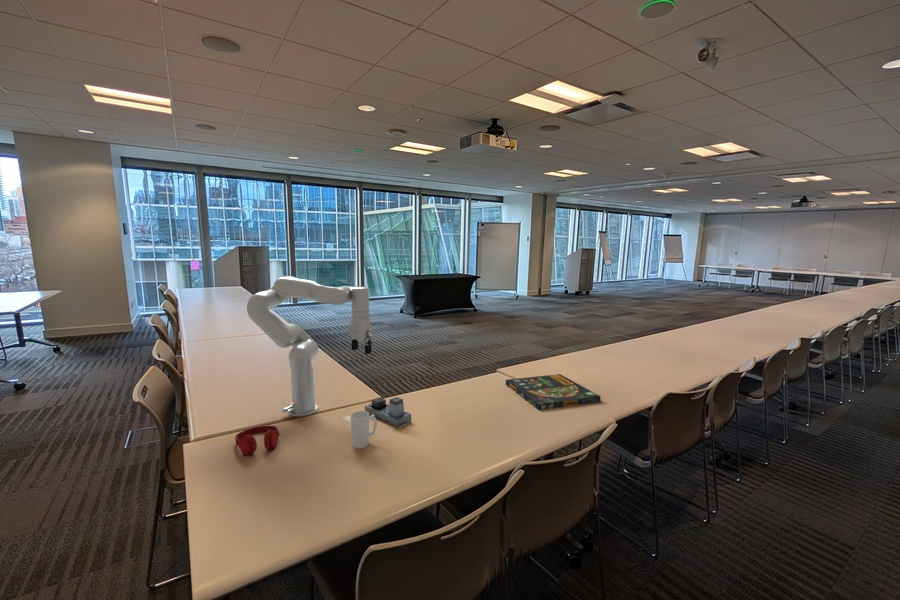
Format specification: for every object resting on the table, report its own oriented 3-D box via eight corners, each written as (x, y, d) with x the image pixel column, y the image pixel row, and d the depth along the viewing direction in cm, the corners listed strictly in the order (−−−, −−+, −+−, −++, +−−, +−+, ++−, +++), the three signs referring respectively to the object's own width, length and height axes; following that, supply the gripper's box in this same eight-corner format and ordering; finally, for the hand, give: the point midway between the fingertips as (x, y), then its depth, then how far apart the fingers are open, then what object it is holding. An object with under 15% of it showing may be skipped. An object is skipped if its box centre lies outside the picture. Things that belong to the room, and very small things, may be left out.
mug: (353, 450, 140) (353, 420, 139) (349, 442, 146) (348, 413, 145) (379, 444, 145) (379, 414, 144) (374, 436, 151) (374, 408, 150)
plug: (396, 422, 162) (395, 402, 160) (389, 419, 165) (388, 399, 163) (403, 418, 165) (403, 399, 164) (396, 415, 168) (396, 396, 167)
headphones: (283, 449, 141) (275, 434, 158) (281, 430, 141) (274, 417, 157) (237, 460, 133) (234, 443, 150) (236, 440, 133) (233, 426, 150)
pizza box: (505, 385, 211) (505, 379, 211) (559, 380, 222) (560, 374, 221) (538, 411, 178) (538, 404, 178) (600, 403, 189) (600, 396, 188)
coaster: (354, 426, 160) (354, 425, 160) (340, 419, 166) (340, 418, 166) (372, 418, 167) (372, 417, 167) (359, 412, 174) (359, 411, 174)
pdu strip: (397, 428, 159) (397, 413, 158) (364, 413, 173) (364, 399, 172) (411, 421, 165) (411, 407, 164) (378, 407, 179) (378, 394, 178)
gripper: (342, 313, 172) (343, 349, 174) (365, 317, 161) (366, 356, 163) (355, 311, 178) (356, 346, 180) (379, 315, 167) (380, 353, 169)
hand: (361, 351), depth 172 cm, fingers open, 9 cm apart
